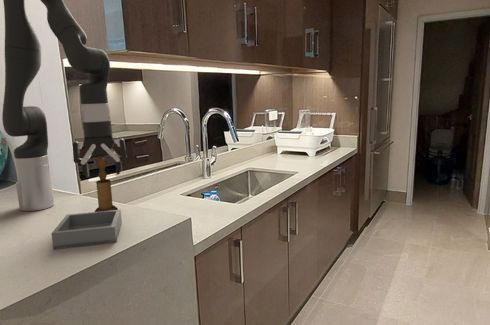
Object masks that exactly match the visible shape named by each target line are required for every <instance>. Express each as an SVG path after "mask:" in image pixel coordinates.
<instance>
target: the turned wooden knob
mask: <svg viewBox="0 0 490 325" xmlns="http://www.w3.org/2000/svg"><path fill="white" fill-rule="evenodd" d="M107 164H108V161H107V160H106V158H104V157H99V158H97V159H96V160H95V165H96V167H97V168H98V170H99V172H98V177H99V179H98V180H97V181H96V192H97V193H96V194H97V202H98V207H97V208H96V209H95V210H94V212H100V211H110V210H119V209H118V208H119V207H117V206H116V205H113V197H112V196H113V194H112V185H111V182H112V181H111V179H107V175H108V174H107V172H106V167H107Z"/></svg>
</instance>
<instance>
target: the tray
mask: <svg viewBox="0 0 490 325" xmlns="http://www.w3.org/2000/svg"><path fill="white" fill-rule="evenodd" d="M121 210H122V209H118V210H110V211H100V212H95V211H93V212H91V211H90V212H81V213H69V214H66V215H65V216H64V217H63V218H62V219H61V221H60V222H59V223H58V225H57V226H56V227H55V228H54V230H52V232H51V240H52V247H53V248H52V249H53V250H60V249H68V248H77V247H86V246H87V247H88V246H95V245H103V244H104V245H105V244H112V243H116V242H117V240H118V236H119V234H120V231H121V228H122V227H121V226H122V223H123V219H122V211H121Z"/></svg>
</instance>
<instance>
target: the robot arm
mask: <svg viewBox="0 0 490 325" xmlns="http://www.w3.org/2000/svg"><path fill="white" fill-rule="evenodd" d="M39 1H40V2H41V3H42V4H43V5H44V6H45V8H46V20H47V23H48V26H49V28H50V30H51V32H52V33H53V35H54V36H55V37H56V39H57V41H59V43H60V44H61V45H62V48H63V51H64V54H65V56H66V59H67V61H68V64H69V66H71V68H72V69H74V70H75V72H78V73H80V74H82V73H83V74H89V78H88V81H85V82H82V83H80V85H79V95H80V96H79V97H80V104H81V106H80V108H81V112H80V113H81V121H82V128H83V129H82V130H83V137H84V139H83V141H77V140H76V141H73V143H72V157H73V162H74V163H75V164H80V165H81V169H82V175H83V176H85V178H89V177H90V170H89V163H88V161H89V160H90V158H91V156H93V157H95V156H100V155H101V156H106V155H109V156H110V157H111V158H113V160H114V161H115V171H116V172H115V173H116V175H120V174H121V173H122V171H123V168H122V161H123V160H126V159H127V158H128V154H127V148H126V147H127V146H126V143H125V139H124V138H119V139H114V137H113V129H112V120H111V112H110V111H111V110H110V107H109V101H108V100H109V98H108V92H107V89H108V82H109V76H110V71H111V70H110V69H111V62H110V57H109V56H108V54H107V53H106V51H105V50H103V49H102V48H101V49H100V48H96V47H89V46H86V45H87V42H88V37H87V35H86V32H85V31H84V30H83V28H82V27H81V26H80V24H79V23H78V22H77V20H76V19H75V17H73V15H72V13H71V12H70V10H69V8H68V7H67V6H66V4H65V2H64V0H39ZM25 3H26V0H3V12H4V69H5V70H4V94H3V95H4V96H3V102H2V115H1V116H2V118H1V121H2V126H3V130H4V131H5V133H6V134H7V135H8V136H9V137H15V138H16V137H26V136H27V137H26V140H25V142H24V143H22V144H21V145H19V146H17V147H15V149H14V150H13V155H14V161H15V169H16V175H17V181H16V182H15V188H16V194H17V201H18V209H19V211H25V212H30V211H31V212H33V211H39V210H45V209H49V208H51V207H54V205H55V201H54V193H53V187H52V186H53V185H52V179H51V178H52V177H51V171H50V162H49V156H48V155H49V154H48V148H49V135H48V124H47V123H48V122H47V117H46V114H45V112H44V111H43V110H42V108H40V107H39V106H35V105H34V106H33V105H32V106H31V105H30V106H24V100H25V95H26V92H27V90H28V88H29V87H30V85H31V83H32V82H33V81H34V79H35V78H36V76H37V74H38V73H39V71H40V68H41V66H42V42H41V40H40V38H39V36H38V33H37V32H36V30H35V28H34V26H33V24H32V22H31V21H30V19H29V16H28V13H27V11H26V4H25ZM115 144H116V145H117V147H118V148H120V153H121V154H120V155H119V154H118V153H117V152H116V151H115V149H113V147H114V145H115ZM82 148H85V149H86V150H87V151H86V153H85V155H84V156H83V157H82V158H81V153H80V152H81V151H80V150H82Z"/></svg>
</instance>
